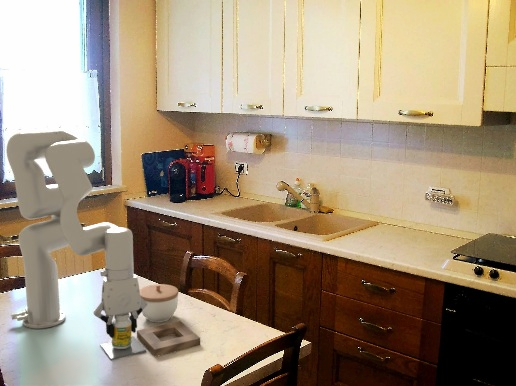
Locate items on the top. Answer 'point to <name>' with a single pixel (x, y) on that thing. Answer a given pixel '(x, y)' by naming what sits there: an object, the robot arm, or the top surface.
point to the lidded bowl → (159, 302)
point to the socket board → (158, 348)
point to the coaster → (121, 353)
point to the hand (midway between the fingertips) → (121, 332)
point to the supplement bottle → (122, 331)
